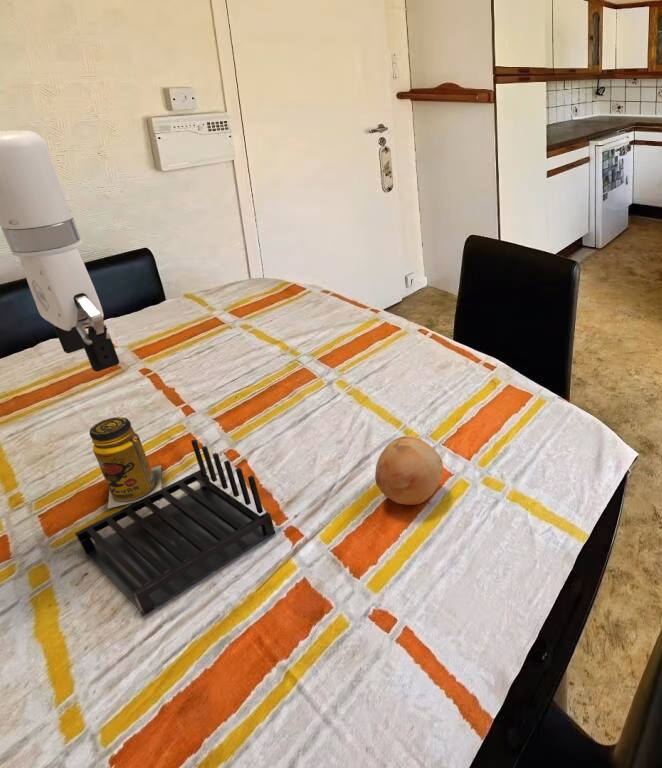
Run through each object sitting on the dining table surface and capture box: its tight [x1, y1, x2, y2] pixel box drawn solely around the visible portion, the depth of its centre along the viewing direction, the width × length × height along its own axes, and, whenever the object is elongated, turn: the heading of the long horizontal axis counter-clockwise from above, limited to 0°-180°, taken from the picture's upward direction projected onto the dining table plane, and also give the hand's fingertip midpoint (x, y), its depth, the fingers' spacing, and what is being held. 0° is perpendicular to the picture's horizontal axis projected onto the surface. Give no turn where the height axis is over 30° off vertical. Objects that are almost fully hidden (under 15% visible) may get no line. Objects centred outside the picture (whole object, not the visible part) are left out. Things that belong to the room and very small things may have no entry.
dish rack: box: [74, 439, 276, 616], centre depth 84 cm, size 18×18×9 cm
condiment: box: [89, 416, 163, 510], centre depth 95 cm, size 7×8×12 cm
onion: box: [374, 436, 444, 506], centre depth 91 cm, size 10×10×10 cm
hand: (91, 358), depth 87 cm, fingers open, 9 cm apart
